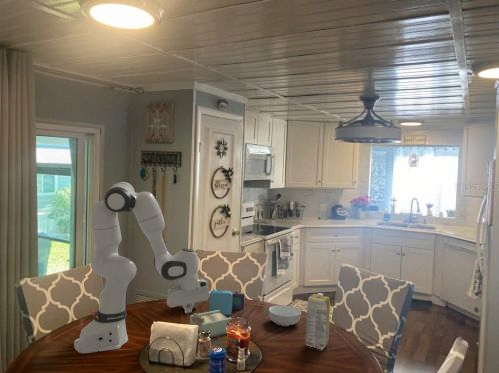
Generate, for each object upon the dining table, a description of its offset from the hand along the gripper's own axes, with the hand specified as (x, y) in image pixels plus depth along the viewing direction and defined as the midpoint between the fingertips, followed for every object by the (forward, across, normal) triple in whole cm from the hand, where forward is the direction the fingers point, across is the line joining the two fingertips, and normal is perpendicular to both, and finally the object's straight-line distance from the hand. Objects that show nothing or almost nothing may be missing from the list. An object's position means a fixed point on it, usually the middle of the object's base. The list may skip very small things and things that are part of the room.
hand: (188, 312), depth 186 cm
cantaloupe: (+12, +16, +33) cm, 39 cm away
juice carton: (+13, +46, -38) cm, 61 cm away
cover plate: (+7, +12, 0) cm, 14 cm away
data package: (+13, +28, +18) cm, 36 cm away
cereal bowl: (+13, +50, -10) cm, 53 cm away
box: (+12, +12, 0) cm, 17 cm away
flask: (+13, +39, +20) cm, 46 cm away
